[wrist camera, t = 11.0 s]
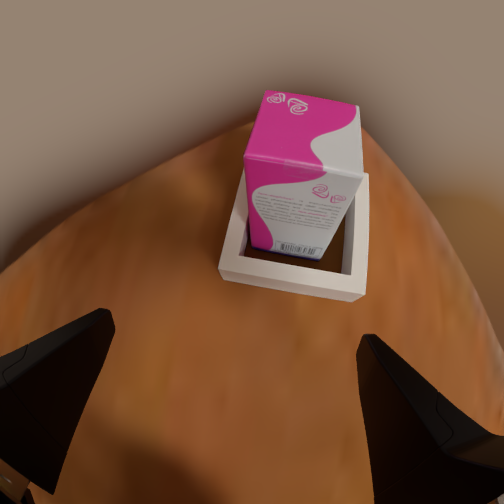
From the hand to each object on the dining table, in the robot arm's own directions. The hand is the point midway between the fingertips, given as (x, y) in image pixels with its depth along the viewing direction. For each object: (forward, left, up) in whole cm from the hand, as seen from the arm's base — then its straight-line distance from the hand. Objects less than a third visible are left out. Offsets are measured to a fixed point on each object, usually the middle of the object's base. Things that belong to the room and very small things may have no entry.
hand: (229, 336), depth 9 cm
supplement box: (+4, -10, -12) cm, 16 cm away
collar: (+3, -10, -12) cm, 16 cm away
